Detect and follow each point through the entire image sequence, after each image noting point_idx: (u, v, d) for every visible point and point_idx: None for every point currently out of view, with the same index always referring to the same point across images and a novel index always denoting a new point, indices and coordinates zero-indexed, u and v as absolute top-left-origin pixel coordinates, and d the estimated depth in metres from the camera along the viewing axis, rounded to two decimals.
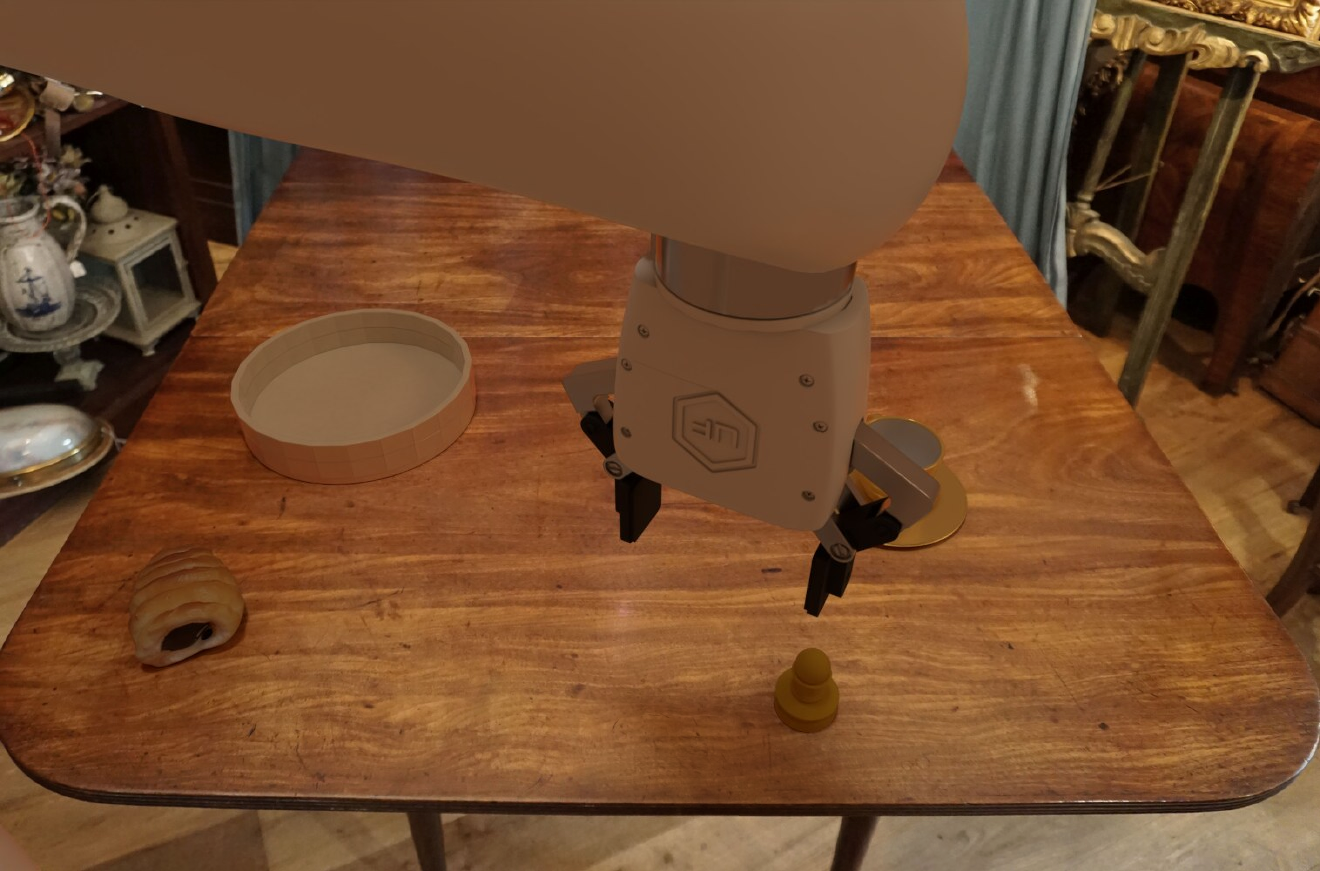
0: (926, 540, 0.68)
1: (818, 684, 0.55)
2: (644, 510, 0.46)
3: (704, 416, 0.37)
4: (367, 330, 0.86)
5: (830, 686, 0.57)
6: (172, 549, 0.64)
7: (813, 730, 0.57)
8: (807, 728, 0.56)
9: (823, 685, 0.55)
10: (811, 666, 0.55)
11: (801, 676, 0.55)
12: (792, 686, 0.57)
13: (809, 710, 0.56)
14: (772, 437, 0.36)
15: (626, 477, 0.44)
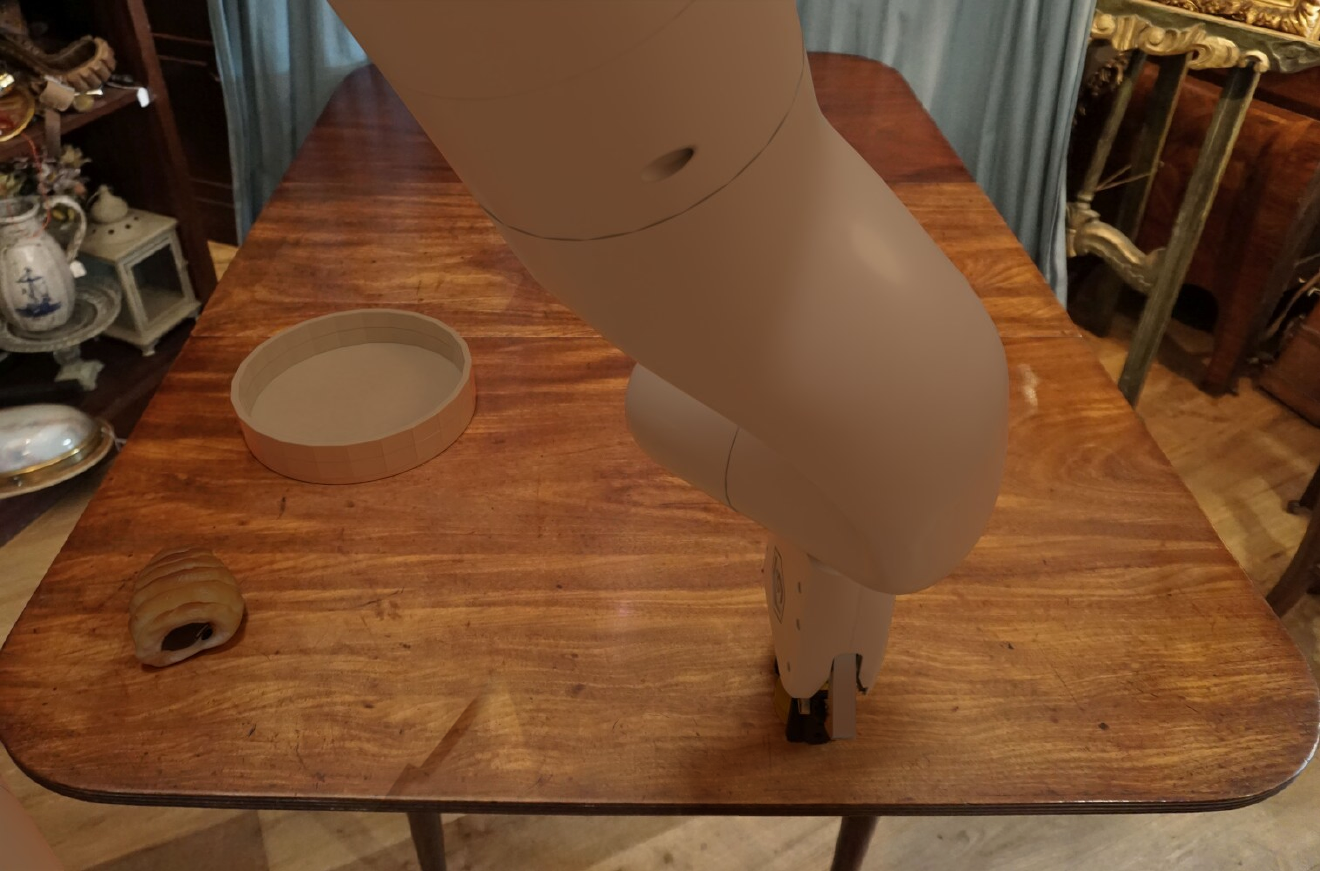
0: None
1: None
2: None
3: (779, 570, 0.51)
4: (367, 330, 0.86)
5: None
6: (172, 549, 0.64)
7: None
8: None
9: (823, 685, 0.55)
10: None
11: None
12: None
13: None
14: (786, 610, 0.48)
15: None
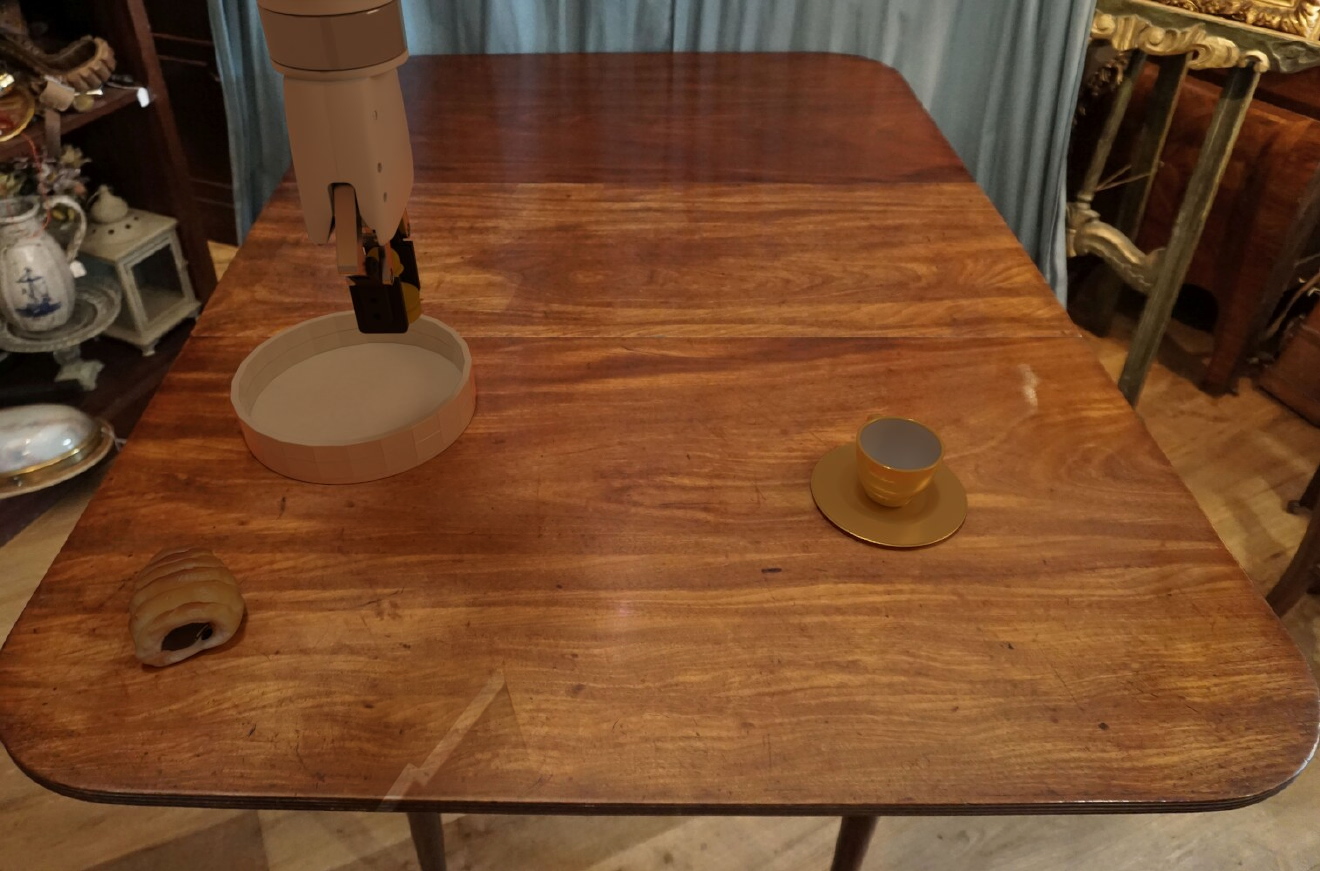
0: (926, 540, 0.68)
1: None
2: None
3: None
4: None
5: (411, 291, 0.63)
6: (172, 549, 0.64)
7: None
8: None
9: None
10: (375, 255, 0.60)
11: None
12: None
13: None
14: None
15: None
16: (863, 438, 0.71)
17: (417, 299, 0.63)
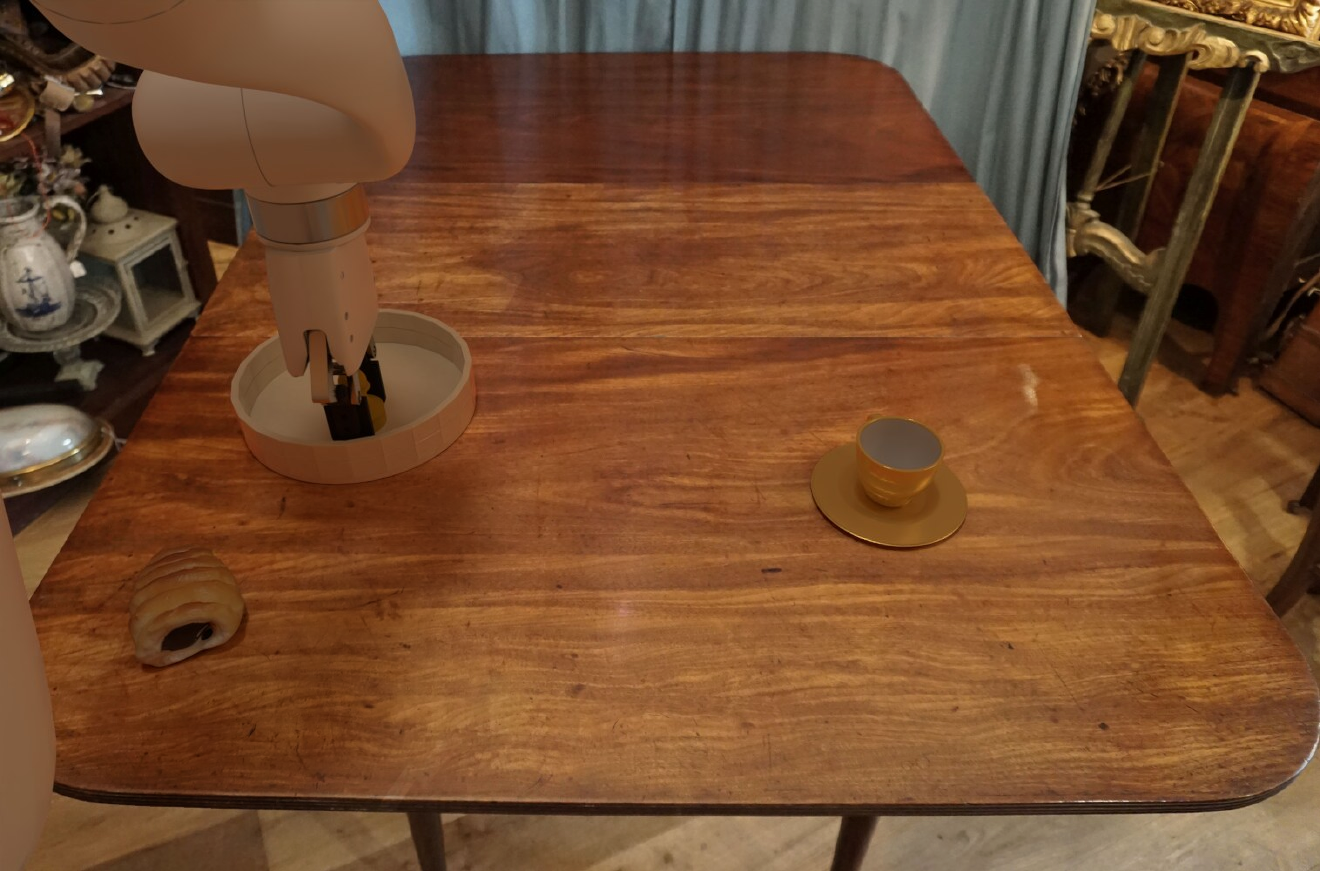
0: (926, 540, 0.68)
1: None
2: None
3: None
4: None
5: (377, 404, 0.74)
6: (172, 549, 0.64)
7: None
8: None
9: None
10: (345, 377, 0.71)
11: None
12: None
13: None
14: None
15: None
16: (863, 438, 0.71)
17: (382, 411, 0.73)
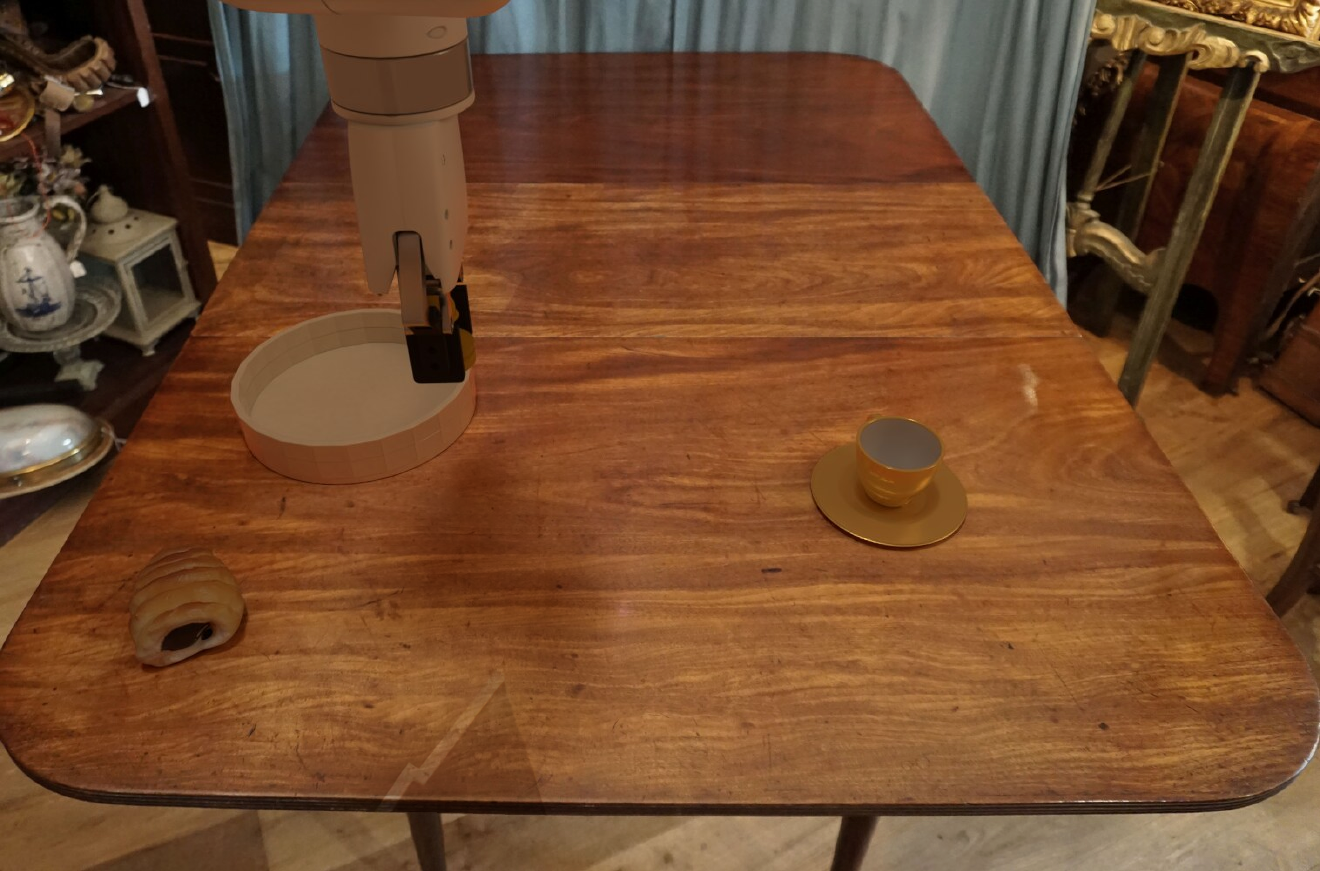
0: (926, 539, 0.68)
1: None
2: None
3: None
4: (367, 330, 0.86)
5: (466, 337, 0.60)
6: (172, 549, 0.64)
7: None
8: None
9: None
10: (430, 301, 0.57)
11: None
12: None
13: None
14: None
15: None
16: (863, 438, 0.71)
17: (472, 345, 0.60)
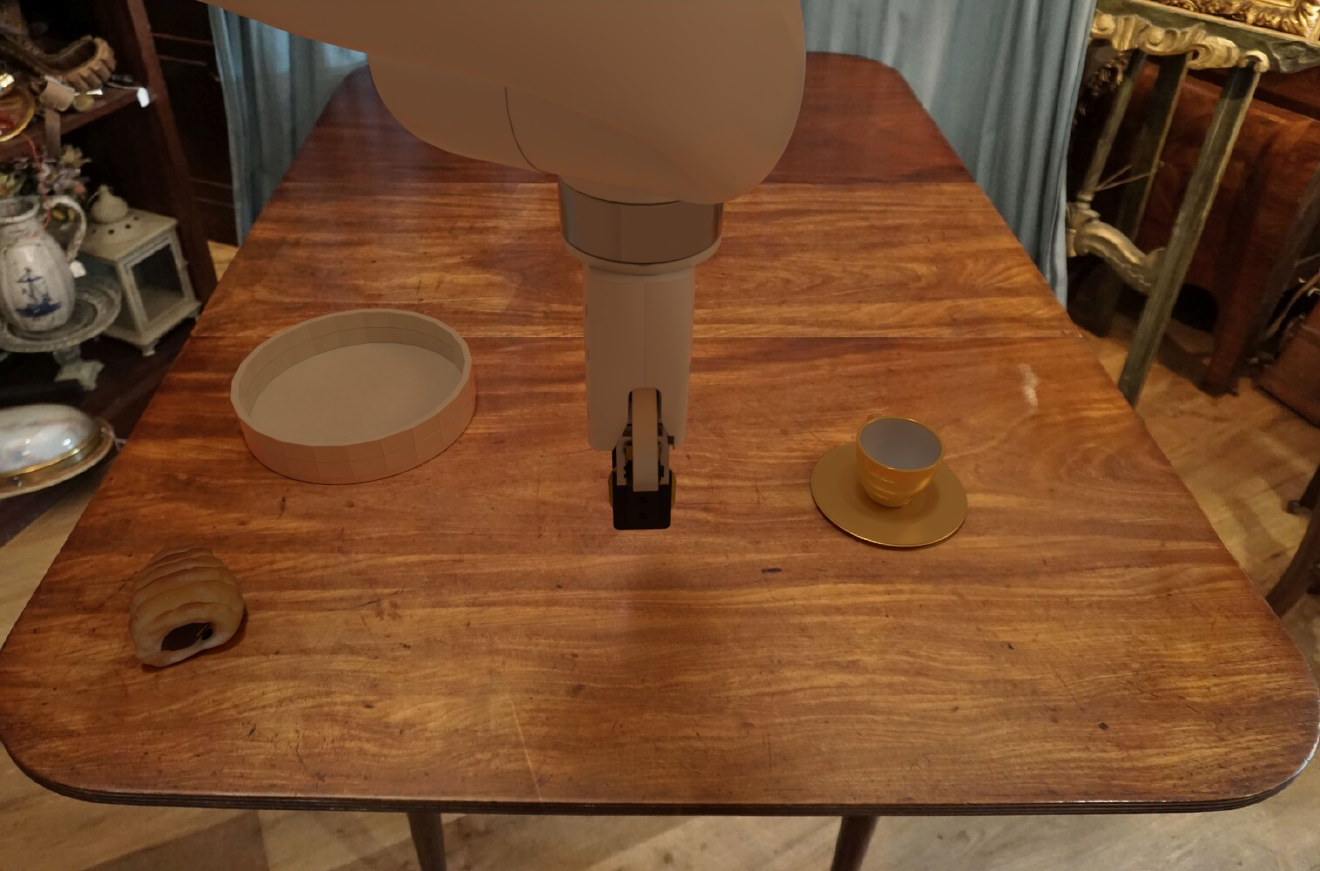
0: (926, 539, 0.68)
1: None
2: None
3: None
4: (367, 330, 0.86)
5: None
6: (172, 549, 0.64)
7: None
8: None
9: None
10: None
11: (628, 454, 0.51)
12: None
13: None
14: None
15: None
16: (863, 438, 0.71)
17: (675, 484, 0.53)
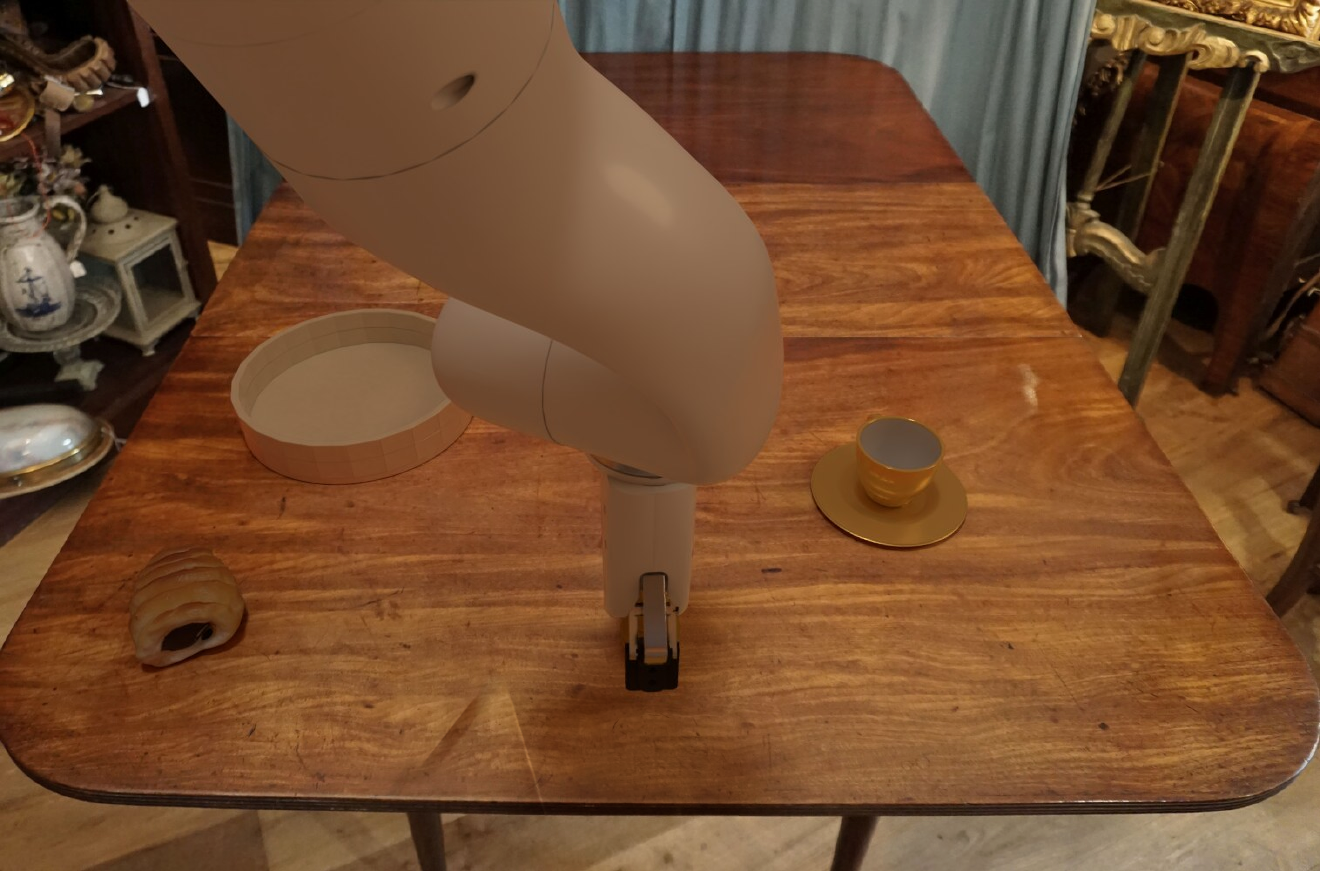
0: (926, 539, 0.68)
1: None
2: None
3: None
4: (367, 330, 0.86)
5: None
6: (172, 549, 0.64)
7: None
8: None
9: None
10: None
11: None
12: None
13: None
14: (602, 534, 0.52)
15: None
16: (863, 438, 0.71)
17: (679, 628, 0.61)
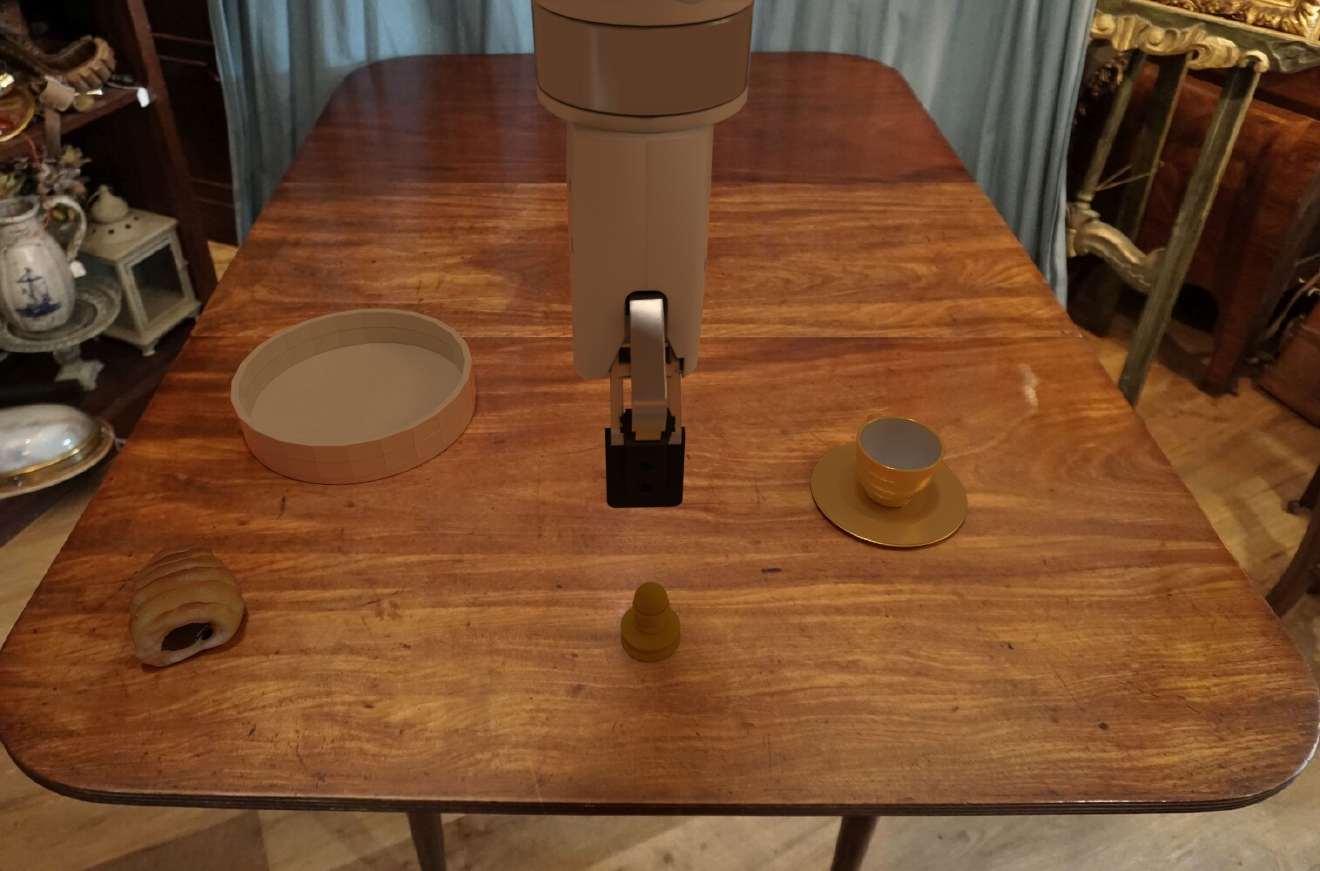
0: (926, 539, 0.68)
1: (654, 615, 0.59)
2: None
3: None
4: (367, 330, 0.86)
5: (672, 619, 0.61)
6: (172, 549, 0.64)
7: (654, 660, 0.60)
8: (648, 658, 0.60)
9: (659, 616, 0.59)
10: (647, 597, 0.58)
11: (638, 607, 0.59)
12: (635, 619, 0.60)
13: (648, 641, 0.60)
14: None
15: None
16: (863, 438, 0.71)
17: (679, 628, 0.61)
